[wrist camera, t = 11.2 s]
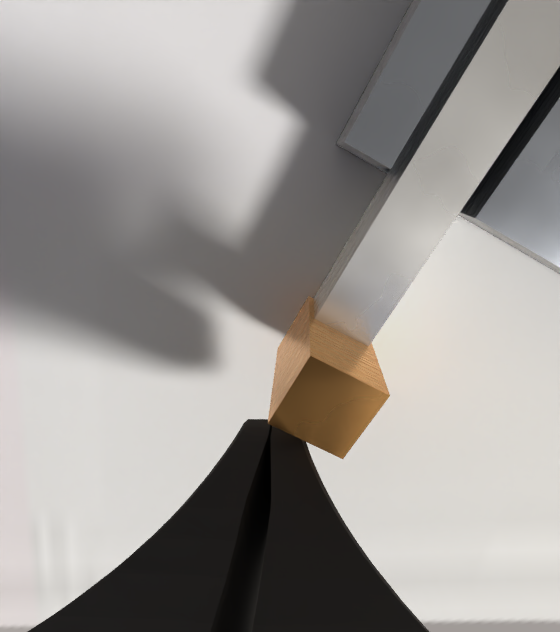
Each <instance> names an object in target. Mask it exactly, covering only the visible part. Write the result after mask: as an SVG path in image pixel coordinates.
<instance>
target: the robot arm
mask: <svg viewBox="0 0 560 632" xmlns="http://www.w3.org/2000/svg"><path fill="white" fill-rule="evenodd" d="M28 632H429V631H428V630H427V629H426V628H425V626H423V624H422V623H421V622H420V621H419V620H418V619H417V617H416V616H415V615H414V614H413V613H412V612H411V611H410V609H409V608H408V607H407V606H406V605H405V604H404V603H403V602H402V600H401V599H400V598H399V597H398V595H397V594H396V593H395V591H394V590H393V589H392V588H391V586H390V585H389V584H388V583H387V581H386V580H385V579H384V578H383V576H382V575H381V574H380V573H379V571H378V570H377V569H376V568H375V566H374V565H373V564H372V562H371V561H370V560H369V558H368V557H367V555H366V554H365V553H364V551H363V550H362V548H361V547H360V546H359V544H358V543H357V541H356V540H355V538H354V537H353V535H352V534H351V532H350V531H349V529H348V527H347V526H346V524H345V523H344V521H343V519H342V518H341V516H340V514H339V513H338V511H337V509H336V507H335V506H334V504H333V502H332V500H331V498H330V496H329V495H328V493H327V491H326V489H325V487H324V485H323V483H322V481H321V478H320V476H319V474H318V472H317V470H316V467H315V465H314V463H313V460H312V458H311V455H310V453H309V450H308V447H307V444H306V441H304V440H302V439H299V438H297V437H295V436H293V435H291V434H289V433H287V432H285V431H283V430H280V429H278V428H276V427H274V426H272V425H270V424H268V420H265V419H248V420H247V421H246V422H245V423H244V424H243V426H242V427H241V429H240V431H239V432H238V434H237V436H236V437H235V439H234V440H233V442H232V443H231V445H230V446H229V448H228V449H227V450H226V452H225V453H224V455H223V456H222V457H221V459H220V460H219V461H218V463H217V464H216V465H215V467H214V468H213V469H212V471H211V472H210V473H209V475H208V476H207V477H206V478H205V480H204V481H203V482H202V483H201V484H200V486H199V487H198V488H197V489H196V490H195V491H194V493H193V494H192V495H191V496H190V497H189V499H188V500H187V501H186V502H185V503H184V504H183V505H182V506H181V507H180V509H179V510H178V511H177V512H176V513H175V514H174V515H173V516H172V517H171V518H170V519H169V520H168V521H167V522H166V523H165V524H164V525H163V526H162V527H161V528H160V529H159V530H158V531H157V532H156V533H155V534H154V535H153V536H152V537H151V538H150V539H148V540H147V541H146V542H145V543H144V544H143V545H142V546H141V547H140V548H138V549H137V550H136V551H135V552H134V553H133V554H132V555H131V556H130V557H128V558H127V559H126V560H125V561H124V562H123V563H121V564H120V565H119V566H118V567H117V568H115V569H114V570H113V571H112V572H111V573H109V574H108V575H107V576H105V577H104V578H103V579H101V580H100V581H99V582H97V583H96V584H95V585H94V586H92V587H91V588H90V589H88V590H87V591H86V592H84V593H83V594H82V595H81V596H79V597H78V598H76V599H75V600H74V601H72V602H71V603H70V604H68V605H67V606H65V607H64V608H63V609H61V610H60V611H58V612H57V613H55V614H54V615H53V616H51V617H49V618H48V619H46V620H45V621H43V622H42V623H40V624H39V625H37V626H36V627H34V628H33V629H31V630H30V631H28Z"/></svg>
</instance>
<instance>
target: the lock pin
mask: <svg viewBox="0 0 560 632" xmlns="http://www.w3.org/2000/svg"><path fill="white" fill-rule="evenodd" d="M559 66H560V0H491V1H490V3H489V5H488V6H487V8H486V10H485V11H484V13H483V15H482V17H481V18H480V20H479V22H478V23H477V25H476V27H475V28H474V30H473V32H472V33H471V35H470V37H469V38H468V40H467V42H466V43H465V45H464V47H463V48H462V50H461V52H460V54H459V55H458V57H457V59H456V60H455V62H454V64H453V65H452V67H451V69H450V70H449V72H448V74H447V75H446V77H445V79H444V80H443V82H442V84H441V85H440V87H439V89H438V90H437V92H436V94H435V96H434V97H433V99H432V101H431V102H430V104H429V106H428V107H427V109H426V111H425V112H424V114H423V116H422V117H421V119H420V121H419V122H418V124H417V126H416V127H415V129H414V131H413V133H412V134H411V136H410V138H409V139H408V141H407V143H406V144H405V146H404V148H403V149H402V151H401V153H400V154H399V156H398V158H397V159H396V161H395V163H394V164H393V166H392V168H391V169H390V171H389V172H388V174H387V176H386V177H385V179H384V181H383V182H382V184H381V186H380V187H379V189H378V191H377V192H376V194H375V196H374V197H373V199H372V201H371V203H370V204H369V206H368V208H367V209H366V211H365V213H364V214H363V216H362V218H361V219H360V221H359V223H358V224H357V226H356V228H355V229H354V231H353V233H352V234H351V236H350V238H349V240H348V241H347V243H346V245H345V246H344V248H343V250H342V251H341V253H340V255H339V256H338V258H337V260H336V261H335V263H334V265H333V266H332V268H331V270H330V271H329V273H328V275H327V277H326V278H325V280H324V282H323V283H322V285H321V287H320V288H319V290H318V292H317V293H316V295H315V297H314V298H312V297H310V296H308V298H307V300H306V301H305V303H304V305H303V306H302V308H301V310H300V311H299V313H298V315H297V317H296V318H295V320H294V322H293V323H292V325H291V327H290V328H289V330H288V332H287V334H286V335H285V337H284V339H283V340H282V342H281V344H280V345H279V347H278V351H277V359H276V366H275V373H274V381H273V388H272V396H271V403H270V410H269V418H268V424H270V425H272V426H274V427H276V428H278V429H280V430H283V431H285V432H287V433H289V434H291V435H293V436H295V437H297V438H299V439H302V440H304V441H306V442H308V443H310V444H312V445H314V446H316V447H318V448H321V449H323V450H325V451H327V452H329V453H331V454H333V455H335V456H337V457H340V458H342V459H343V458H344V457H345V455H346V454H347V453H348V451H349V450H350V449H351V447H352V446H353V445H354V443H355V442H356V441H357V439H358V438H359V437H360V435H361V434H362V433H363V431H364V430H365V428H366V427H367V426H368V424H369V423H370V422H371V420H372V419H373V418H374V416H375V415H376V414H377V412H378V411H379V410H380V408H381V407H382V406H383V404H384V403H385V402H386V400H387V399H388V397H389V396H390V394H389V392H388V389H387V386H386V383H385V380H384V377H383V374H382V372H381V369H380V366H379V363H378V360H377V357H376V354H375V352H374V349H373V346H372V343H371V342H372V341H373V339H374V338H375V336H376V335H377V333H378V332H379V330H380V329H381V327H382V326H383V324H384V323H385V321H386V320H387V319H388V317H389V316H390V314H391V313H392V311H393V310H394V308H395V307H396V305H397V304H398V302H399V301H400V299H401V298H402V297H403V295H404V294H405V292H406V291H407V289H408V288H409V286H410V285H411V283H412V282H413V280H414V279H415V277H416V276H417V275H418V273H419V272H420V270H421V269H422V267H423V266H424V264H425V263H426V261H427V260H428V258H429V257H430V255H431V254H432V252H433V251H434V250H435V248H436V247H437V245H438V244H439V242H440V241H441V239H442V238H443V236H444V235H445V233H446V232H447V230H448V229H449V228H450V226H451V225H452V223H453V222H454V220H455V219H456V217H457V216H458V214H459V213H460V211H461V210H462V208H463V207H464V206H465V204H466V203H467V201H468V200H469V198H470V197H471V195H472V194H473V192H474V191H475V189H476V188H477V186H478V185H479V183H480V182H481V181H482V179H483V178H484V176H485V175H486V173H487V172H488V170H489V169H490V167H491V166H492V164H493V163H494V161H495V160H496V159H497V157H498V156H499V154H500V153H501V151H502V150H503V148H504V147H505V145H506V144H507V142H508V141H509V139H510V138H511V137H512V135H513V134H514V132H515V131H516V129H517V128H518V126H519V125H520V123H521V122H522V120H523V119H524V117H525V116H526V115H527V113H528V112H529V110H530V109H531V107H532V106H533V104H534V103H535V101H536V100H537V98H538V97H539V95H540V94H541V92H542V91H543V90H544V88H545V87H546V85H547V84H548V82H549V81H550V79H551V78H552V76H553V75H554V73H555V72H556V70H557V69H558V68H559Z"/></svg>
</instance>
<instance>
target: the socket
mask: <svg viewBox="0 0 560 632" xmlns="http://www.w3.org/2000/svg"><path fill="white" fill-rule="evenodd" d="M490 1H491V0H413V1H412V3H411V4H410V6H409V8H408V10H407V12H406V14H405V16H404V18H403V19H402V21H401V23H400V25H399V27H398V29H397V31H396V33H395V34H394V36H393V38H392V40H391V42H390V44H389V46H388V47H387V49H386V51H385V53H384V55H383V57H382V59H381V61H380V62H379V64H378V66H377V68H376V70H375V72H374V74H373V76H372V77H371V79H370V81H369V83H368V85H367V87H366V89H365V90H364V92H363V94H362V96H361V98H360V100H359V102H358V104H357V105H356V107H355V109H354V111H353V113H352V115H351V117H350V118H349V120H348V122H347V124H346V126H345V128H344V130H343V132H342V133H341V135H340V137H339V139H338V141H337V143H336V144H337V145H338V146H340V147H342V148H344V149H345V150H347V151H349V152H350V153H352V154H354V155H356V156H357V157H359V158H361V159H363V160H364V161H366V162H368V163H369V164H371V165H373V166H375V167H376V168H378V169H380V170H382V171H383V172H385V173H387V174H388V172H389V171H390V169H391V168H392V166H393V164H394V163H395V161H396V159H397V158H398V156H399V154H400V153H401V151H402V149H403V148H404V146H405V144H406V143H407V141H408V139H409V138H410V136H411V134H412V133H413V131H414V129H415V127H416V126H417V124H418V122H419V121H420V119H421V117H422V116H423V114H424V112H425V111H426V109H427V107H428V106H429V104H430V102H431V101H432V99H433V97H434V96H435V94H436V92H437V90H438V89H439V87H440V85H441V84H442V82H443V80H444V79H445V77H446V75H447V74H448V72H449V70H450V69H451V67H452V65H453V64H454V62H455V60H456V59H457V57H458V55H459V54H460V52H461V50H462V48H463V47H464V45H465V43H466V42H467V40H468V38H469V37H470V35H471V33H472V32H473V30H474V28H475V27H476V25H477V23H478V22H479V20H480V18H481V17H482V15H483V13H484V11H485V10H486V8H487V6H488V5H489V3H490ZM458 215H459V216H461V217H463V218H464V219H466V220H468V221H469V222H471V223H473V224H475V225H476V226H478V227H480V228H481V229H483V230H485V231H487V232H488V233H490V234H492V235H494V236H495V237H497V238H499V239H500V240H502V241H504V242H506V243H507V244H509V245H511V246H512V247H514V248H516V249H518V250H519V251H521V252H523V253H525V254H526V255H528V256H530V257H531V258H533V259H535V260H537V261H538V262H540V263H542V264H544V265H545V266H547V267H549V268H550V269H552V270H554V271H556V272H557V273H559V274H560V66H559V68H558V69H557V70H556V72H555V73H554V75H553V76H552V78H551V79H550V81H549V82H548V84H547V85H546V87H545V88H544V90H543V91H542V92H541V94H540V95H539V97H538V98H537V100H536V101H535V103H534V104H533V106H532V107H531V109H530V110H529V112H528V113H527V115H526V116H525V117H524V119H523V120H522V122H521V123H520V125H519V126H518V128H517V129H516V131H515V132H514V134H513V135H512V137H511V138H510V139H509V141H508V142H507V144H506V145H505V147H504V148H503V150H502V151H501V153H500V154H499V156H498V157H497V159H496V160H495V161H494V163H493V164H492V166H491V167H490V169H489V170H488V172H487V173H486V175H485V176H484V178H483V179H482V181H481V182H480V183H479V185H478V186H477V188H476V189H475V191H474V192H473V194H472V195H471V197H470V198H469V200H468V201H467V203H466V204H465V206H464V207H463V208H462V210H461V211H460V213H459V214H458Z"/></svg>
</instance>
